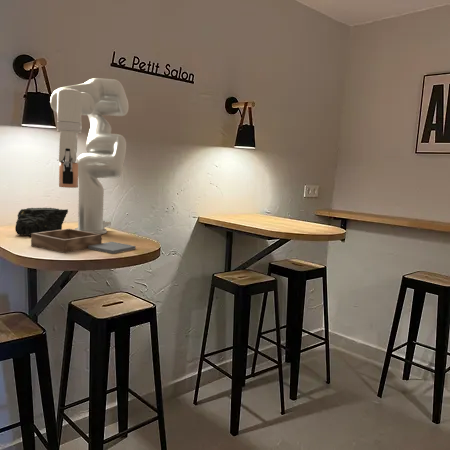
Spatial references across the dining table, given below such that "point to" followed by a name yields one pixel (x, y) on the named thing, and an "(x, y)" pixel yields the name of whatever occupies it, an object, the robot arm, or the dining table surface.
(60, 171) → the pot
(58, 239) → the brown wooden tray
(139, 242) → the dining table surface
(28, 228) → the rock
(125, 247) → the mat
